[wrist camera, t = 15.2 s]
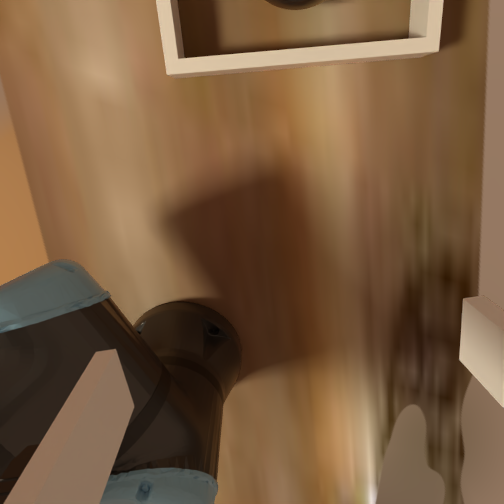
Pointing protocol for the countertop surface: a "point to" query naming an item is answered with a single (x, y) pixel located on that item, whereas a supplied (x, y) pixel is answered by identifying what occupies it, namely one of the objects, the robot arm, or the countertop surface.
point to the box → (419, 44)
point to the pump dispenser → (295, 4)
